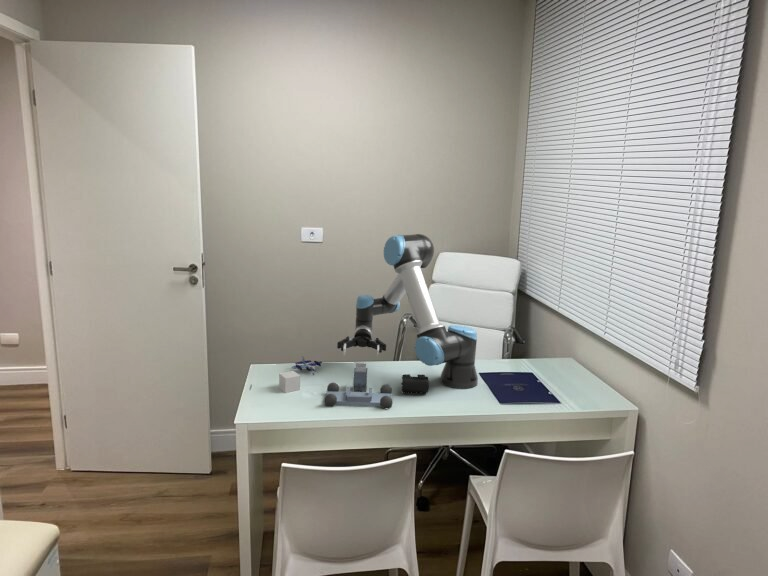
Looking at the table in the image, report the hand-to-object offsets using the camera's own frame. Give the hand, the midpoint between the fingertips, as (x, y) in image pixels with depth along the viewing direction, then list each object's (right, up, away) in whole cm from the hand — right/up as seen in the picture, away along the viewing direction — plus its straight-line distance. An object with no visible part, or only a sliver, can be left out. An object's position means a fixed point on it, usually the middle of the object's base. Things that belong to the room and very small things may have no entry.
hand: (361, 352), depth 230 cm
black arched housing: (+21, -15, -8) cm, 27 cm away
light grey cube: (-27, -13, -10) cm, 32 cm away
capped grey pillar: (0, -13, -7) cm, 15 cm away
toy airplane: (-22, -9, +9) cm, 26 cm away
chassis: (0, -16, -18) cm, 24 cm away
